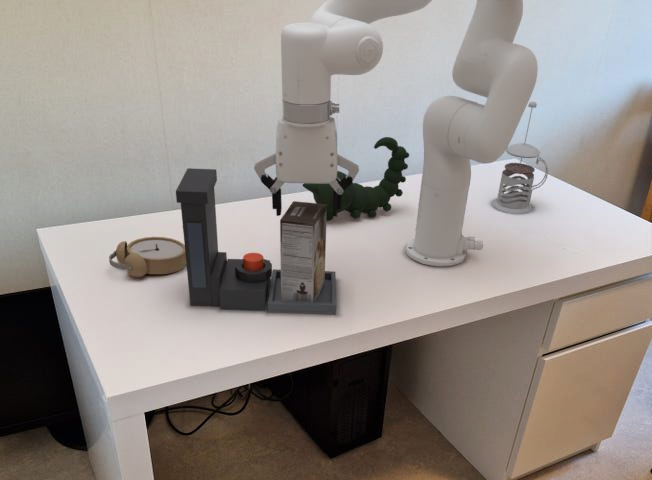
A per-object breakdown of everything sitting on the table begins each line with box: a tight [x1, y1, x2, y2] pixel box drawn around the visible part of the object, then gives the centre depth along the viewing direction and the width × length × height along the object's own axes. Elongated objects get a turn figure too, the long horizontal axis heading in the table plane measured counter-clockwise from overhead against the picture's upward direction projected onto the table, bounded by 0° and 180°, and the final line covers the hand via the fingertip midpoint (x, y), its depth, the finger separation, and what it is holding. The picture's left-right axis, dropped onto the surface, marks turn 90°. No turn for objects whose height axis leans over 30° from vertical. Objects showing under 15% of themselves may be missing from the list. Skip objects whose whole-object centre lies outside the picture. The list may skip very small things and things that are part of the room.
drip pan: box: [267, 268, 337, 316], centre depth 123 cm, size 12×13×2 cm
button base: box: [219, 258, 273, 312], centre depth 121 cm, size 9×12×6 cm
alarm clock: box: [108, 236, 187, 278], centre depth 129 cm, size 11×5×15 cm
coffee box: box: [279, 200, 327, 303], centre depth 118 cm, size 9×6×16 cm
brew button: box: [242, 252, 264, 271], centre depth 119 cm, size 4×4×2 cm
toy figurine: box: [302, 136, 410, 222], centre depth 150 cm, size 9×19×25 cm
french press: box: [491, 101, 549, 215], centre depth 158 cm, size 10×12×25 cm
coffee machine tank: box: [175, 168, 228, 308], centre depth 117 cm, size 6×11×22 cm, turn 1°
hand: (306, 213), depth 114 cm, fingers open, 9 cm apart
